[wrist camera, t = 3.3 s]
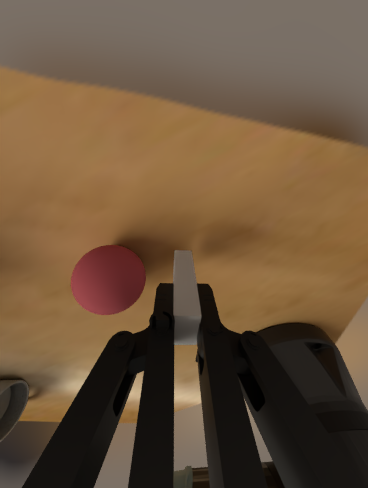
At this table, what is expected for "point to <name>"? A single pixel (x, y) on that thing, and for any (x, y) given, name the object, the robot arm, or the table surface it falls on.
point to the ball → (108, 279)
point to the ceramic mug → (11, 404)
